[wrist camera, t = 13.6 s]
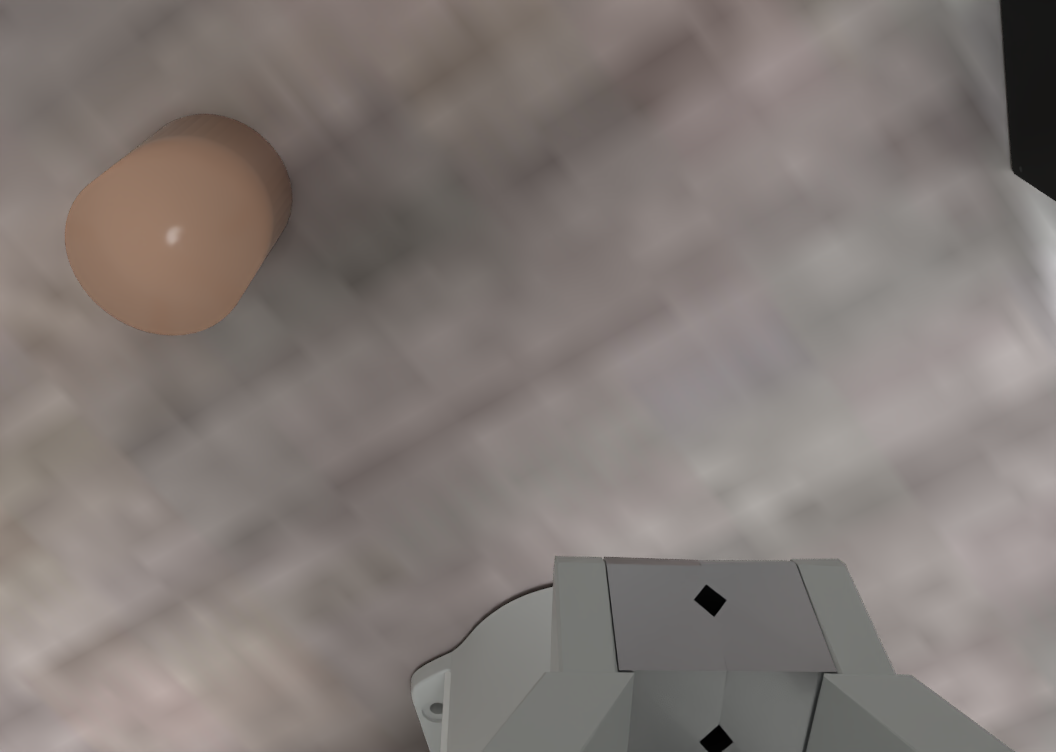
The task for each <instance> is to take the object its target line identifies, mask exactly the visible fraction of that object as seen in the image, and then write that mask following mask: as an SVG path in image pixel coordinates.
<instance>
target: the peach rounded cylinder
mask: <svg viewBox="0 0 1056 752" xmlns="http://www.w3.org/2000/svg"><path fill="white" fill-rule="evenodd" d="M291 207H292V189H291V184H290V179H289V176H288V173H287V170H286V168H285V166H284V164H283V162H282V160H281V159H280V157H279V155H278V154H277V152H276V151H275V150H274V148H273V147H272V146H271V145H270V144H269V143H268V142H267V141H266V140H265V139H264V138H263V137H262V136H261V135H260V134H258V133H257V132H256V131H255V130H253V129H251V128H250V127H248V126H247V125H245V124H243V123H241V122H238V121H236V120H234V119H231V118H228V117H224V116H219V115H213V114H195V115H189V116H185V117H182V118H179V119H176V120H174V121H172V122H170V123H168V124H167V125H165V126H164V127H163V128H161V129H160V130H159V131H157V132H156V133H155V134H154V135H152V136H151V137H150V138H148V139H147V140H146V141H144V142H143V143H142V144H140V145H139V146H138V147H137V148H135V149H134V150H133V151H131V152H130V153H129V154H127V155H126V156H125V157H124V158H122V159H121V160H120V161H118V162H117V163H116V164H114V165H113V166H112V167H110V168H109V169H108V170H107V171H105V172H104V173H103V174H101V175H100V176H99V177H97V178H96V179H95V180H94V181H92V182H91V183H90V184H88V185H87V186H86V187H85V188H84V189H83V190H82V191H81V192H80V193H79V195H78V196H77V198H76V199H75V201H74V202H73V204H72V206H71V208H70V211H69V214H68V217H67V221H66V227H65V245H66V251H67V256H68V259H69V262H70V265H71V268H72V270H73V272H74V274H75V276H76V278H77V280H78V281H79V283H80V285H81V286H82V287H83V289H84V290H85V291H86V293H87V294H88V295H89V296H90V297H91V298H92V300H93V301H94V302H95V303H96V304H97V305H99V306H100V307H101V308H102V309H103V310H104V311H106V312H107V313H108V314H110V315H111V316H113V317H114V318H116V319H117V320H119V321H121V322H123V323H125V324H127V325H129V326H131V327H134V328H136V329H139V330H142V331H146V332H149V333H154V334H160V335H186V334H191V333H196V332H199V331H202V330H205V329H207V328H209V327H211V326H214V325H215V324H217V323H218V322H220V321H221V320H223V319H224V318H225V317H226V316H227V315H228V314H229V313H230V312H231V311H232V310H233V308H234V307H235V306H236V305H237V303H238V301H239V300H240V298H241V297H242V295H243V294H244V292H245V290H246V289H247V287H248V286H249V284H250V282H251V281H252V279H253V278H254V276H255V275H256V273H257V271H258V270H259V268H260V267H261V265H262V264H263V262H264V260H265V259H266V257H267V256H268V254H269V252H270V251H271V249H272V248H273V246H274V245H275V243H276V241H277V240H278V238H279V237H280V235H281V234H282V232H283V230H284V228H285V227H286V225H287V222H288V220H289V217H290V212H291Z"/></svg>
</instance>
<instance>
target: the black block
mask: <svg viewBox="0 0 1056 752" xmlns="http://www.w3.org/2000/svg"><path fill="white" fill-rule="evenodd" d="M1001 4H1002V20H1003V35H1004V50H1005V66H1006V81H1007V96H1008V112H1009V127H1010V142H1011V155H1012V169H1013V172H1014V174H1016V175H1017V176H1019V177H1020V178H1022V179H1023V180H1025V181H1026V182H1028V183H1029V184H1031V185H1032V186H1034V187H1035V188H1037V189H1038V190H1040V191H1041V192H1043V193H1044V194H1046V195H1047V196H1049V197H1050V198H1052V199H1053V200H1055V201H1056V0H1001Z"/></svg>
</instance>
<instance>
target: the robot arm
mask: <svg viewBox="0 0 1056 752" xmlns="http://www.w3.org/2000/svg"><path fill="white" fill-rule="evenodd" d="M411 697H412V701H413V704H414V707H415V710H416V713H417V716H418V719H419V721H420V724H421V727H422V730H423V733H424V736H425V739H426V742H427V745H428V748H429V751H430V752H1015V751H1013V750H1012V749H1011V748H1009V747H1008V746H1007V745H1005V744H1004V743H1003V742H1001V741H1000V740H999V739H997V738H996V737H995V736H993V735H992V734H990V733H989V732H988V731H986V730H985V729H984V728H982V727H981V726H980V725H978V724H977V723H976V722H974V721H973V720H972V719H970V718H969V717H967V716H966V715H965V714H963V713H962V712H961V711H959V710H958V709H957V708H955V707H954V706H953V705H951V704H950V703H949V702H947V701H946V700H944V699H943V698H942V697H940V696H939V695H938V694H936V693H935V692H934V691H932V690H931V689H930V688H928V687H927V686H926V685H924V684H923V683H921V682H920V681H919V680H917V679H916V678H915V677H913V676H912V675H896V673H895V670H894V668H893V666H892V664H891V662H890V660H889V657H888V655H887V653H886V651H885V649H884V647H883V644H882V642H881V640H880V638H879V636H878V634H877V631H876V629H875V627H874V625H873V623H872V621H871V618H870V616H869V614H868V612H867V610H866V608H865V605H864V603H863V601H862V599H861V597H860V595H859V592H858V590H857V588H856V586H855V584H854V581H853V579H852V577H851V575H850V573H849V571H848V568H847V566H846V564H844V563H843V562H842V561H841V560H839V559H791V560H790V561H787V560H686V559H655V558H623V557H604V559H602V558H601V557H565V556H555V561H554V572H553V587H550V588H546V589H542V590H539V591H536V592H533V593H530V594H527V595H525V596H522V597H520V598H518V599H515V600H513V601H511V602H510V603H508V604H506V605H504V606H502V607H501V608H499V609H498V610H496V611H495V612H493V613H492V614H491V615H489V616H488V617H487V618H486V619H485V620H483V621H482V622H481V623H480V624H479V625H478V626H477V627H476V628H475V629H474V630H473V632H472V633H471V634H470V635H469V636H468V637H467V638H466V639H465V641H464V642H463V643H462V644H461V645H460V646H459V647H458V648H456V649H455V650H454V651H453V652H451V653H448V654H446V655H444V656H442V657H440V658H438V659H436V660H433V661H431V662H430V663H428V664H426V665H424V666H423V667H421V668H419V669H418V670H417V671H416V672H415V673H414V674H413V676H412V679H411Z"/></svg>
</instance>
